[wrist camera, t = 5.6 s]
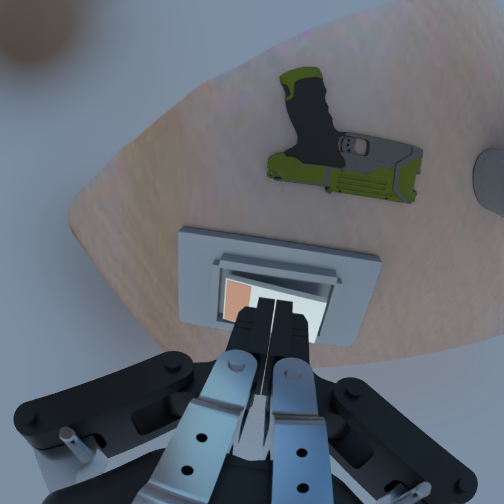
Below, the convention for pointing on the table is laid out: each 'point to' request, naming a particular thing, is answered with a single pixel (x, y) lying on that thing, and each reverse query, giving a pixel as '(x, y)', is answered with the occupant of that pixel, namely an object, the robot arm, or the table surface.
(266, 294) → the rocker
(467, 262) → the table surface
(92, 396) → the robot arm
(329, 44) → the table surface
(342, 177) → the gun
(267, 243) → the panel
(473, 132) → the table surface
